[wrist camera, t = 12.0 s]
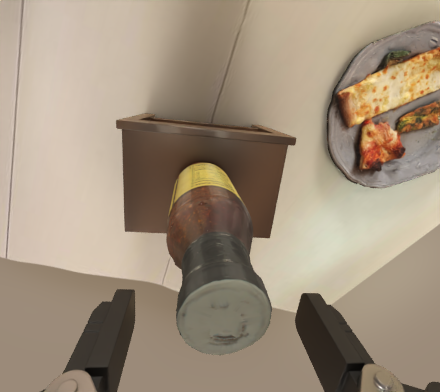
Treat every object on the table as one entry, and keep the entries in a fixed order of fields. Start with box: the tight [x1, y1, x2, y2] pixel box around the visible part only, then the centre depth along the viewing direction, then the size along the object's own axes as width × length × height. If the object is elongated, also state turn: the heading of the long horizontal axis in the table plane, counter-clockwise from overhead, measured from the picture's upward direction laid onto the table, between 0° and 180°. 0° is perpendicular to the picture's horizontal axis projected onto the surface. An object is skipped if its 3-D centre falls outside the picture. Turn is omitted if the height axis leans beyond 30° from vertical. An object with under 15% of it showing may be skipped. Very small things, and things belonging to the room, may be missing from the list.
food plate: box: [327, 21, 440, 188], centre depth 40 cm, size 25×23×4 cm
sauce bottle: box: [167, 162, 272, 355], centre depth 20 cm, size 7×6×20 cm
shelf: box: [116, 113, 296, 238], centre depth 34 cm, size 18×13×15 cm
